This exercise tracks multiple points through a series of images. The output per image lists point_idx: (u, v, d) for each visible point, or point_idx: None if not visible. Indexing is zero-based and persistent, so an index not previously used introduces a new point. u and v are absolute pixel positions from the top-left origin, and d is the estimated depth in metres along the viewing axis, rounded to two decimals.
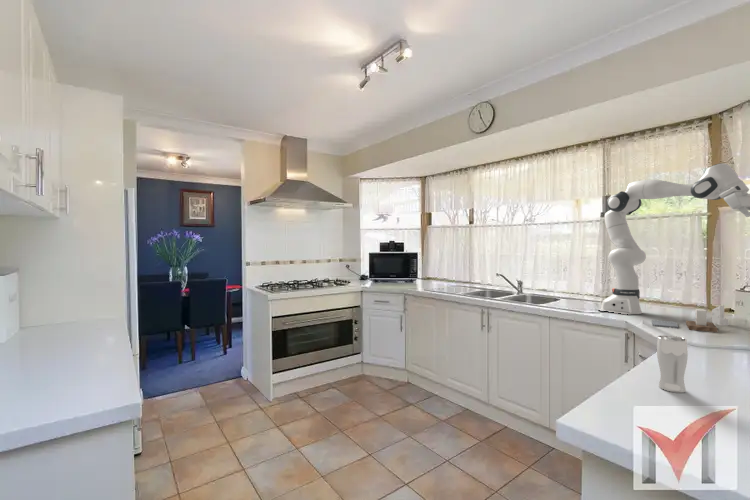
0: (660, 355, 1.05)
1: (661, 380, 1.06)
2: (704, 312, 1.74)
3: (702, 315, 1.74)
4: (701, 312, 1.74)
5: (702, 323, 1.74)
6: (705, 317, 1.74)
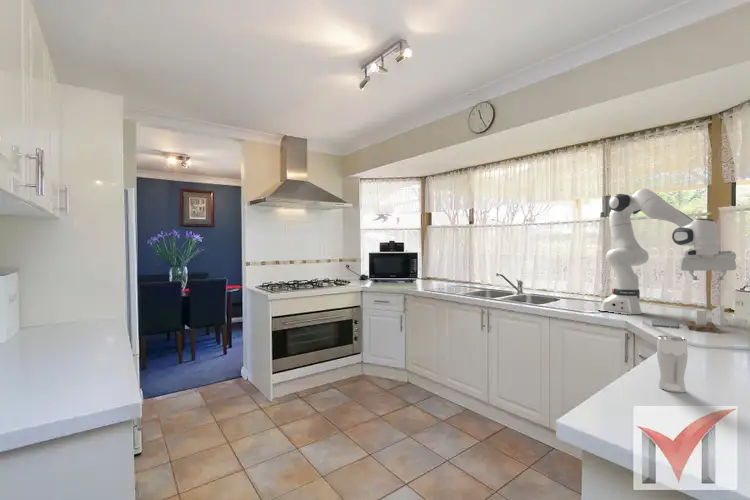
0: (660, 355, 1.05)
1: (661, 380, 1.06)
2: (704, 312, 1.74)
3: (702, 315, 1.74)
4: (701, 312, 1.74)
5: (702, 323, 1.74)
6: (705, 317, 1.74)
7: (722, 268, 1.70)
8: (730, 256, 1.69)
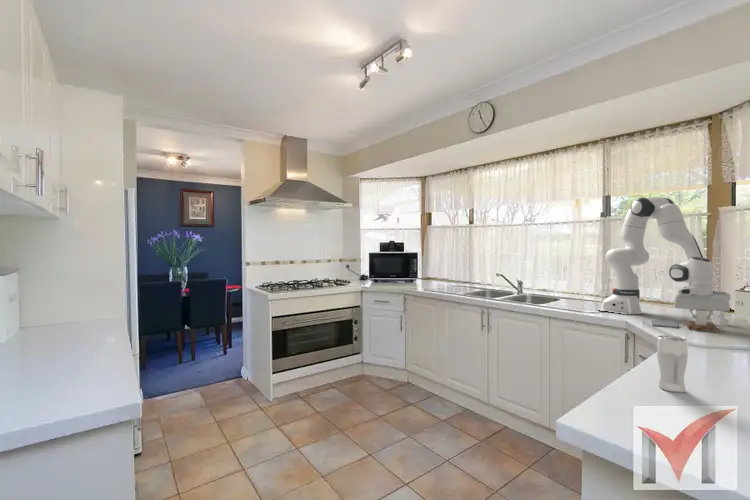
0: (660, 355, 1.05)
1: (661, 380, 1.06)
2: (704, 312, 1.74)
3: (702, 315, 1.74)
4: (701, 312, 1.74)
5: (702, 323, 1.74)
6: (705, 317, 1.74)
7: (715, 308, 1.72)
8: (724, 297, 1.70)
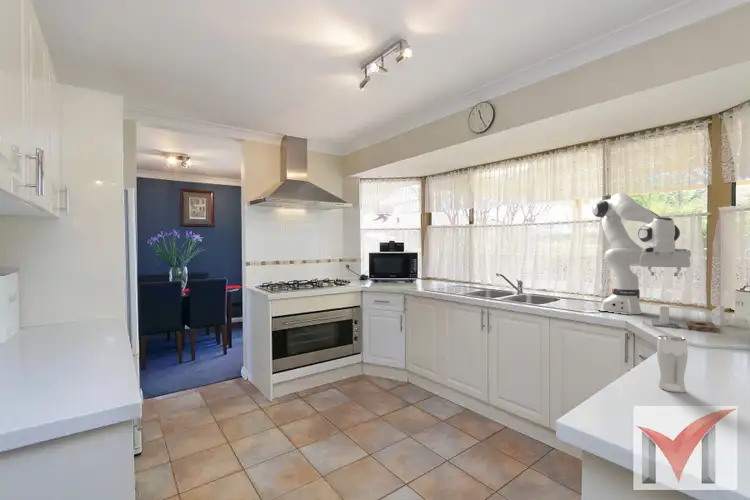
0: (660, 355, 1.05)
1: (661, 380, 1.06)
2: (667, 308, 1.82)
3: (665, 311, 1.82)
4: (664, 308, 1.83)
5: (665, 318, 1.82)
6: (668, 312, 1.82)
7: (677, 265, 1.80)
8: (685, 254, 1.78)
